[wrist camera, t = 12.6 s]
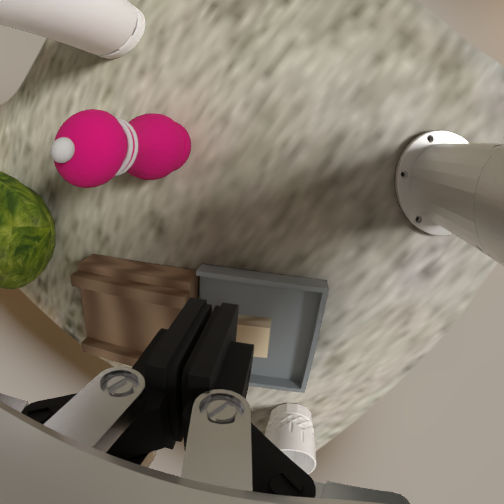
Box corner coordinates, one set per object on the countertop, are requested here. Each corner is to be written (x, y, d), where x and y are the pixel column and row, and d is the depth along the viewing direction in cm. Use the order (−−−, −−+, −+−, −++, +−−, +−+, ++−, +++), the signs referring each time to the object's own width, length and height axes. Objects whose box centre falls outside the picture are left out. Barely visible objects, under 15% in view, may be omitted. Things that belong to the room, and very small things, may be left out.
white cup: (273, 395, 45) (266, 444, 35) (322, 405, 44) (324, 454, 35) (260, 426, 47) (252, 473, 38) (305, 435, 47) (304, 482, 38)
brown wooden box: (199, 270, 40) (184, 289, 35) (197, 359, 44) (185, 384, 39) (93, 254, 42) (69, 267, 36) (102, 337, 46) (84, 356, 41)
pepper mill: (172, 188, 37) (67, 226, 18) (130, 154, 37) (9, 169, 18) (207, 138, 35) (116, 129, 16) (161, 106, 34) (49, 79, 16)
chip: (232, 324, 38) (236, 314, 41) (231, 353, 40) (235, 343, 42) (269, 328, 38) (271, 318, 40) (266, 358, 39) (268, 347, 42)
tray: (326, 280, 38) (328, 288, 36) (304, 381, 43) (304, 392, 41) (201, 263, 40) (196, 270, 37) (199, 365, 45) (194, 375, 42)
